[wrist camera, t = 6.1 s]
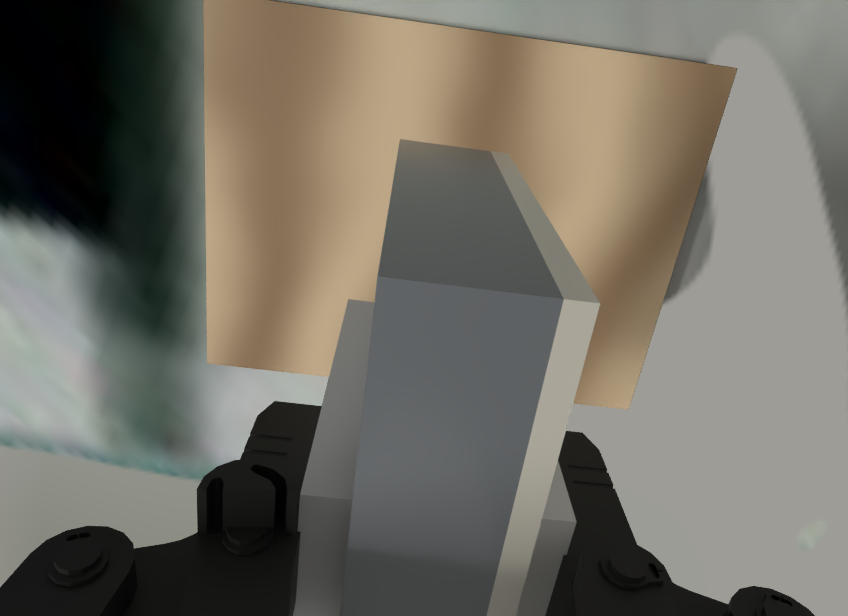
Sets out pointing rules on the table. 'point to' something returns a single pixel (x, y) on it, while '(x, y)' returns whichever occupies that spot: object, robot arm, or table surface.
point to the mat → (439, 124)
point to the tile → (462, 388)
